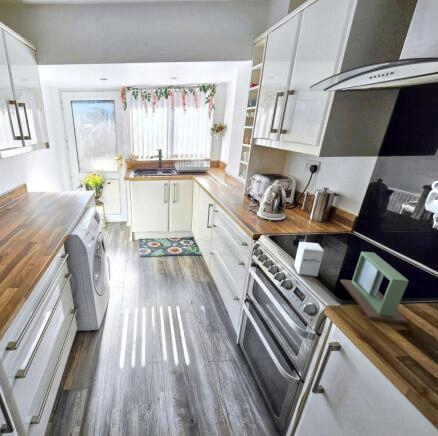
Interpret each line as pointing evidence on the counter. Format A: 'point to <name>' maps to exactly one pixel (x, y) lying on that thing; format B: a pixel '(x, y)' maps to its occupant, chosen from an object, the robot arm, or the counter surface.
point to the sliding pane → (377, 283)
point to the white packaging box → (308, 258)
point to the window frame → (379, 304)
